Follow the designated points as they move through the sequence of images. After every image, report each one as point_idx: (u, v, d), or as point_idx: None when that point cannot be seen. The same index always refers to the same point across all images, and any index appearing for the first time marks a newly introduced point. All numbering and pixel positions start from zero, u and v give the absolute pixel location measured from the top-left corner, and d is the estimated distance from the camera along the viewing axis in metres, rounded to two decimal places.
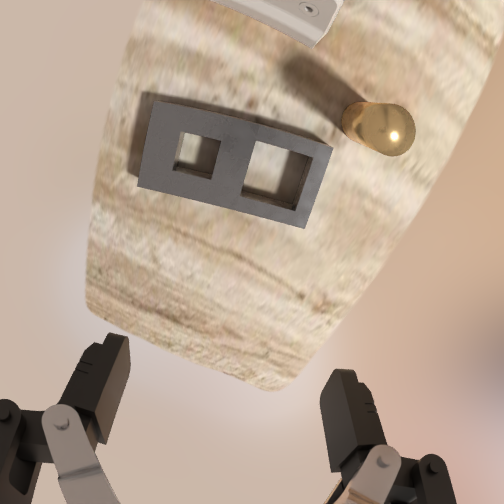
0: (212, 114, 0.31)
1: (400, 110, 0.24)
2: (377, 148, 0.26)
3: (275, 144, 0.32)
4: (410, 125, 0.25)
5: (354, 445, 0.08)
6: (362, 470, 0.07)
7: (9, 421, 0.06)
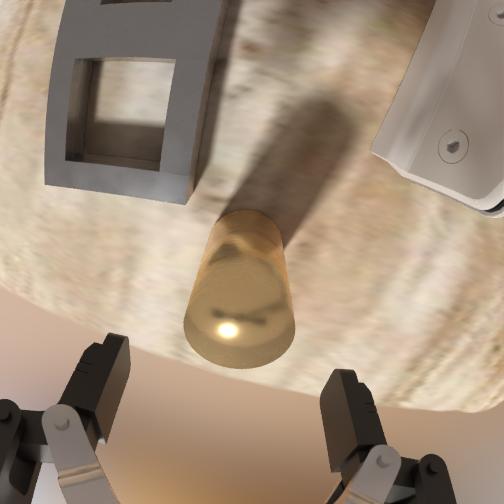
0: None
1: (283, 340, 0.14)
2: (191, 308, 0.13)
3: (173, 96, 0.15)
4: (257, 359, 0.15)
5: (354, 445, 0.08)
6: (362, 470, 0.07)
7: (9, 421, 0.06)
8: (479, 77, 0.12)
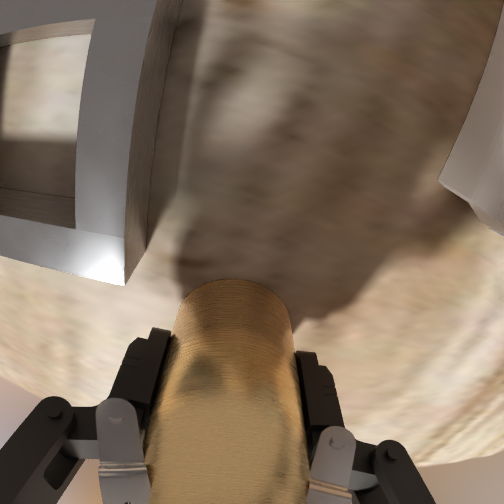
0: None
1: None
2: None
3: (88, 88, 0.07)
4: None
5: (307, 425, 0.09)
6: (317, 456, 0.07)
7: (61, 418, 0.07)
8: None
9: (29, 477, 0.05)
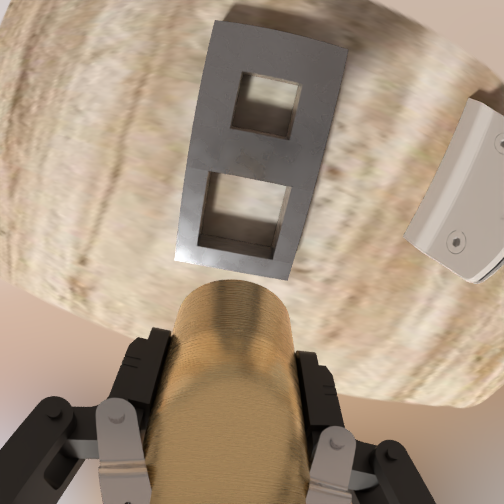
0: (327, 128, 0.22)
1: None
2: None
3: (287, 212, 0.25)
4: None
5: (307, 425, 0.09)
6: (317, 456, 0.07)
7: (61, 419, 0.07)
8: (479, 195, 0.22)
9: (29, 477, 0.05)
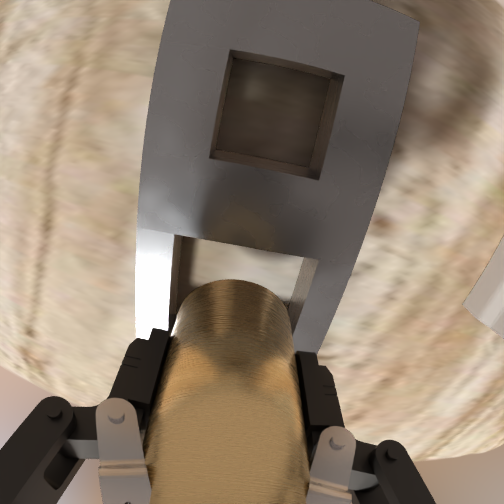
0: (385, 158, 0.12)
1: None
2: None
3: (310, 298, 0.15)
4: None
5: (308, 425, 0.09)
6: (317, 456, 0.07)
7: (61, 419, 0.07)
8: None
9: (29, 477, 0.05)
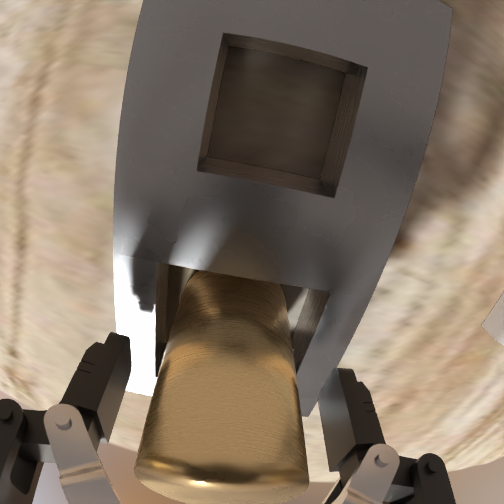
0: (414, 172, 0.10)
1: (290, 492, 0.07)
2: (141, 464, 0.07)
3: (318, 334, 0.13)
4: None
5: (352, 444, 0.08)
6: (360, 469, 0.07)
7: (11, 421, 0.06)
8: None
9: None
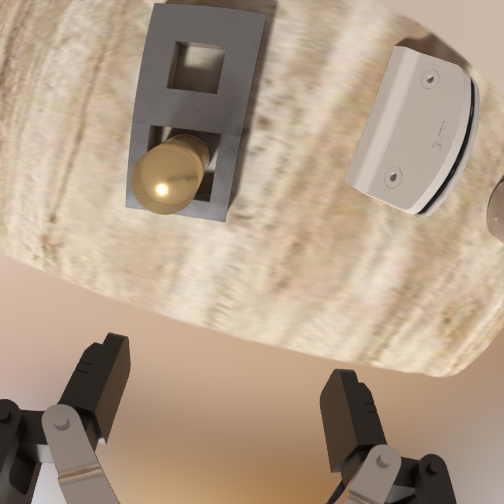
0: (249, 81, 0.24)
1: (191, 188, 0.22)
2: (135, 167, 0.21)
3: (219, 157, 0.27)
4: (176, 205, 0.23)
5: (354, 445, 0.08)
6: (362, 470, 0.07)
7: (9, 421, 0.06)
8: (410, 130, 0.25)
9: None
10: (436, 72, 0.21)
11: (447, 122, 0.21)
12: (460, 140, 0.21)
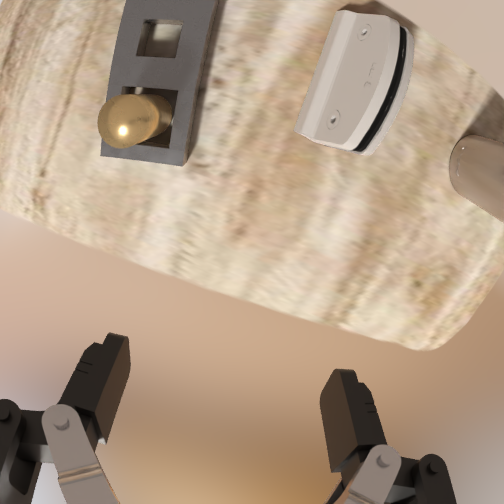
0: (202, 46, 0.27)
1: (142, 125, 0.25)
2: (101, 111, 0.24)
3: (176, 109, 0.30)
4: (131, 139, 0.26)
5: (354, 445, 0.08)
6: (362, 470, 0.07)
7: (9, 421, 0.06)
8: (347, 77, 0.27)
9: None
10: (370, 25, 0.24)
11: (375, 63, 0.23)
12: (389, 76, 0.23)
